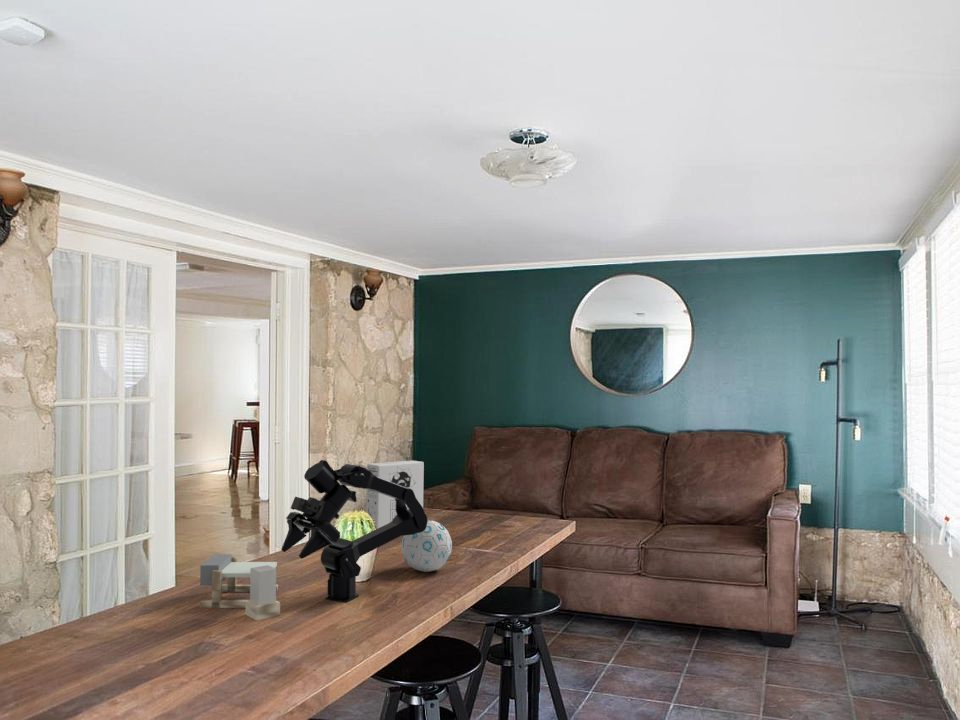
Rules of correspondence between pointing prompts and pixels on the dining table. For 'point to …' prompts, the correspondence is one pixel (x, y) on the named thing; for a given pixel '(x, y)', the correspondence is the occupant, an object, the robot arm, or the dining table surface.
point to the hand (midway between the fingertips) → (291, 554)
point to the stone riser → (262, 610)
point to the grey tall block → (263, 585)
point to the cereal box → (397, 473)
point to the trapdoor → (227, 568)
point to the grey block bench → (219, 588)
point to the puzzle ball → (427, 547)
